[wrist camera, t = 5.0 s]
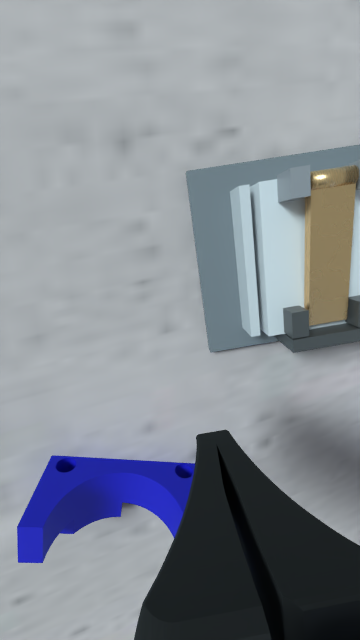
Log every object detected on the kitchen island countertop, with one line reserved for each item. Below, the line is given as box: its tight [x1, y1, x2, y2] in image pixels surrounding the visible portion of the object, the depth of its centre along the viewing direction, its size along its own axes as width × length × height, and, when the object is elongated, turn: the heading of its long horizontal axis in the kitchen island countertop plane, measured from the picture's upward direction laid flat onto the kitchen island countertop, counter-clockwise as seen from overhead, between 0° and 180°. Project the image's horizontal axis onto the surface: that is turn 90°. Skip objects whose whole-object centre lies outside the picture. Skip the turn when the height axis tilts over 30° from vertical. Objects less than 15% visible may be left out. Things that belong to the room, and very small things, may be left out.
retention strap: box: [304, 165, 359, 326], centre depth 16 cm, size 2×8×1 cm, turn 9°
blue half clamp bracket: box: [17, 456, 195, 563], centre depth 21 cm, size 12×4×6 cm, turn 82°
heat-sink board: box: [186, 145, 360, 353], centre depth 17 cm, size 14×12×5 cm
